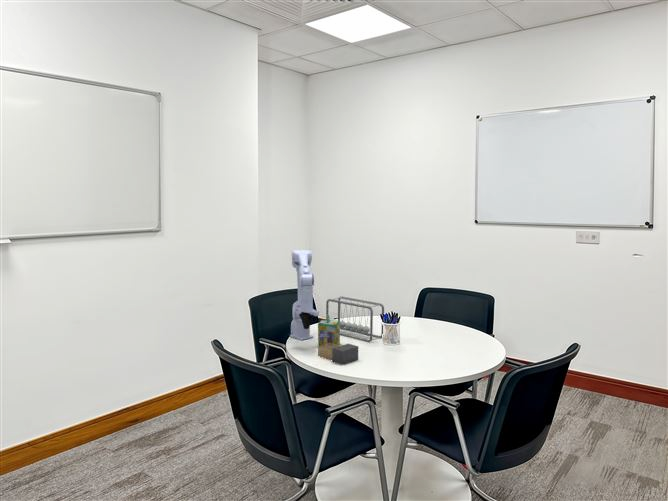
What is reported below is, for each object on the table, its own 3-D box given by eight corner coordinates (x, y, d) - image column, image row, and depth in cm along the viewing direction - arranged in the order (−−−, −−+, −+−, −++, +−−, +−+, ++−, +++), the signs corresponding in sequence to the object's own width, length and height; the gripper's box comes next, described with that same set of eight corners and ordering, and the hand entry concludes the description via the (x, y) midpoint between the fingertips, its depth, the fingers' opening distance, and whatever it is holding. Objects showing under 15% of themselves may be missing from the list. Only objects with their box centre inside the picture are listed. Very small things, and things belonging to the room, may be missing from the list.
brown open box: (317, 356, 227) (318, 346, 227) (330, 352, 233) (330, 342, 232) (333, 361, 220) (334, 351, 220) (346, 357, 226) (346, 347, 225)
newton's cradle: (325, 331, 268) (325, 298, 266) (338, 328, 276) (339, 295, 274) (371, 343, 248) (371, 307, 246) (384, 338, 256) (384, 303, 254)
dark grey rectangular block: (319, 357, 225) (319, 344, 224) (335, 352, 232) (335, 339, 231) (342, 365, 215) (342, 351, 215) (358, 359, 222) (358, 346, 222)
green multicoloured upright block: (336, 349, 238) (337, 317, 236) (317, 347, 240) (317, 316, 238) (340, 343, 247) (340, 313, 245) (321, 342, 249) (322, 312, 247)
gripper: (289, 298, 238) (289, 327, 240) (310, 303, 228) (310, 333, 229) (301, 296, 243) (300, 324, 245) (322, 301, 233) (322, 330, 234)
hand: (306, 328), depth 237 cm, fingers closed
